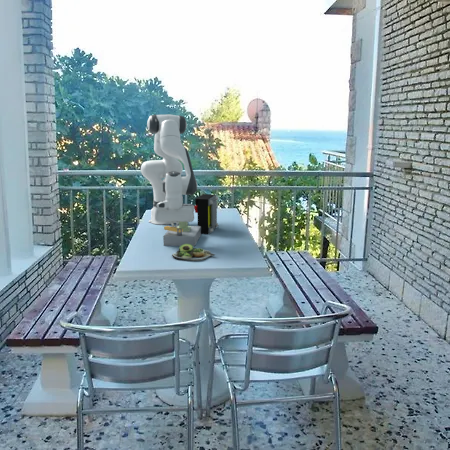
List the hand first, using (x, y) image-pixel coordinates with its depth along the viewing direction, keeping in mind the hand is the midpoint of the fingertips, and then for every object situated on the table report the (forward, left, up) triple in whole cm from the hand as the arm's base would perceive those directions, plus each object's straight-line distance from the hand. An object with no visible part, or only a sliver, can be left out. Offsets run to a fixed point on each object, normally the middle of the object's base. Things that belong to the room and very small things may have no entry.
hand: (175, 229), depth 240 cm
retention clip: (+2, 0, -2) cm, 3 cm away
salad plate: (+24, +12, -7) cm, 28 cm away
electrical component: (-28, +13, -7) cm, 32 cm away
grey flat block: (-5, +3, -7) cm, 9 cm away
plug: (-7, +3, -5) cm, 9 cm away
